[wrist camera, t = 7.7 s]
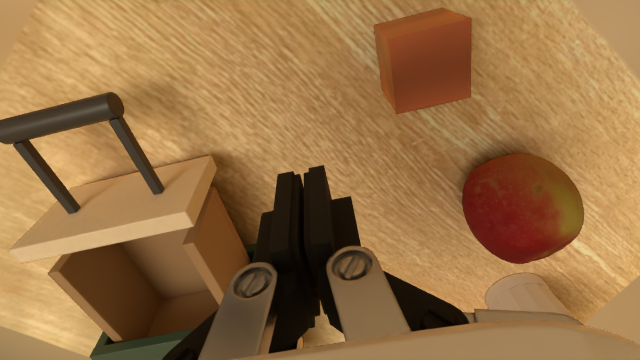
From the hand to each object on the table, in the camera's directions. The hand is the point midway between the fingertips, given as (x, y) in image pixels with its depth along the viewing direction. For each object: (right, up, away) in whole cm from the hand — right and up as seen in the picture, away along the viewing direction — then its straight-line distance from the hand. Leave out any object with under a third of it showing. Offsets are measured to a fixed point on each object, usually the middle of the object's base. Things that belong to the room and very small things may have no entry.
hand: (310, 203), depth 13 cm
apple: (+15, +1, +16) cm, 22 cm away
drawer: (-12, -1, +15) cm, 20 cm away
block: (+6, +9, +10) cm, 15 cm away
